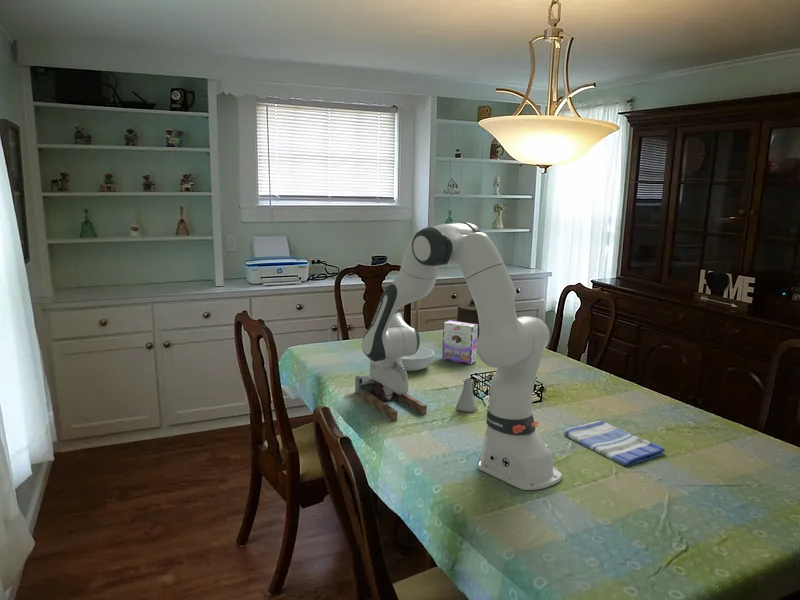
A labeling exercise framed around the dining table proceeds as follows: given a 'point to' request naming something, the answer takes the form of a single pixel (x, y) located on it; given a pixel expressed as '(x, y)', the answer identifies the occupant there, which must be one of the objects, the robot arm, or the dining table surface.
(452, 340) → the candy box
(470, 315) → the wooden container
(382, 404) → the bay
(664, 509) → the dining table surface
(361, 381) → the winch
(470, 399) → the flask
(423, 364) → the serving bowl
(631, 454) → the dish towel
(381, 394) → the box
